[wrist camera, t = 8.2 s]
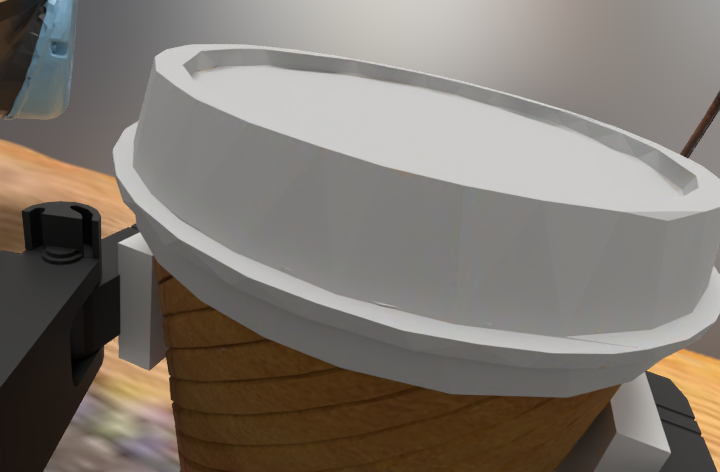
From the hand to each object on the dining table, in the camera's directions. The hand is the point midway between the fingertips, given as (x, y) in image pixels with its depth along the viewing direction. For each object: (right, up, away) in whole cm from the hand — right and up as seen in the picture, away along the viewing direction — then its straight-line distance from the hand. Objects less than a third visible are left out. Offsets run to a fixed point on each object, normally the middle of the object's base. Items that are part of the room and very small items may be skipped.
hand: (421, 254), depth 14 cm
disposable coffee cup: (-3, -8, -1) cm, 9 cm away
